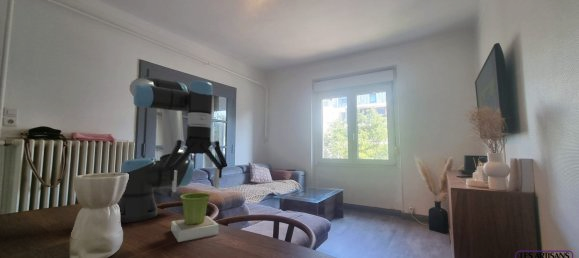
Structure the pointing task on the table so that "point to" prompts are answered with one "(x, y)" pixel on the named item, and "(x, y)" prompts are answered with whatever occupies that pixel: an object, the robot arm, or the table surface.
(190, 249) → the table surface
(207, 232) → the pedestal
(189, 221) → the plant pot
